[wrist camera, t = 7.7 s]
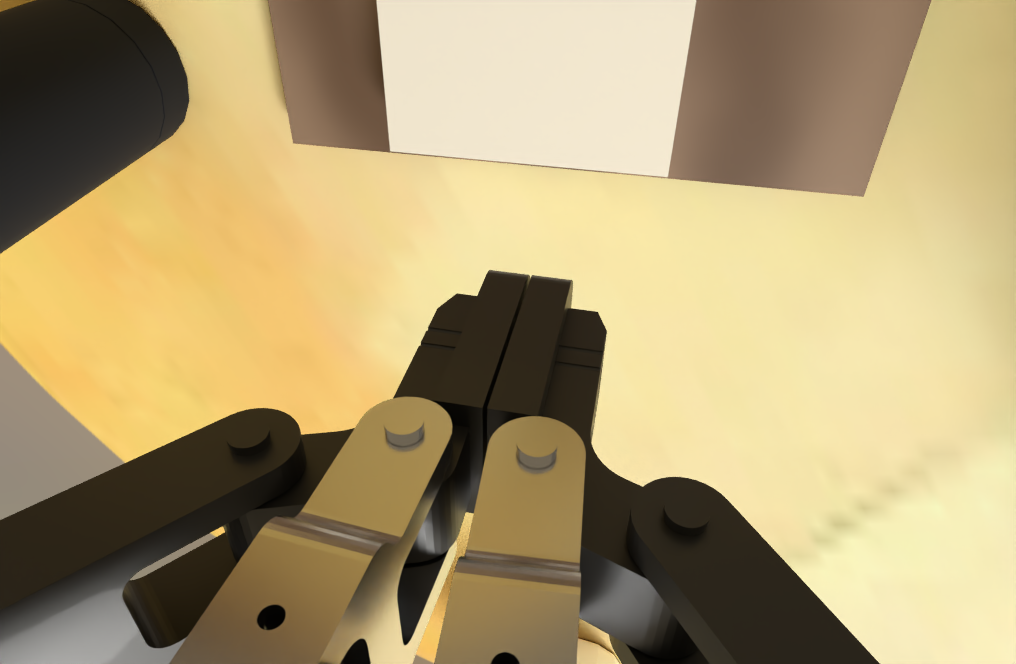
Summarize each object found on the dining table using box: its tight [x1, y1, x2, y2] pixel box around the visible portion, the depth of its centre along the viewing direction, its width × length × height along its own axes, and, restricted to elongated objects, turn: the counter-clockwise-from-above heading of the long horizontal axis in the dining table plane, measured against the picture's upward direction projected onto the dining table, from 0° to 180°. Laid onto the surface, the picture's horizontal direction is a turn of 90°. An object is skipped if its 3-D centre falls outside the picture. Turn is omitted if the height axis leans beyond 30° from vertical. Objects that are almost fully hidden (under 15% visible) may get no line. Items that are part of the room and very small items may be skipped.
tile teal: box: [376, 0, 696, 177], centre depth 25 cm, size 2×6×10 cm
